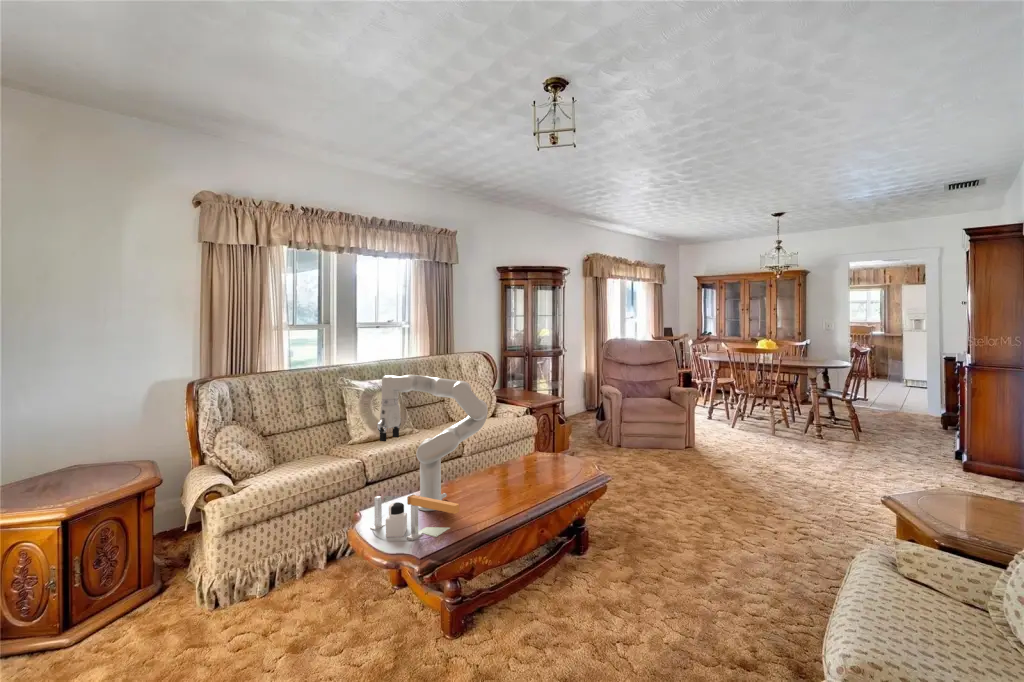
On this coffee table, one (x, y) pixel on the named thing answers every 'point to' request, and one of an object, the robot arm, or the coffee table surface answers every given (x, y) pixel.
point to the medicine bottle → (396, 520)
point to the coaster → (433, 531)
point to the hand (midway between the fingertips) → (389, 439)
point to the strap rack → (379, 524)
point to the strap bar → (433, 504)
